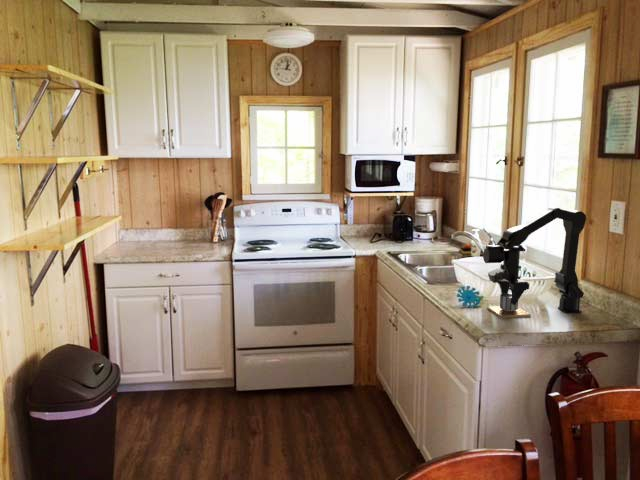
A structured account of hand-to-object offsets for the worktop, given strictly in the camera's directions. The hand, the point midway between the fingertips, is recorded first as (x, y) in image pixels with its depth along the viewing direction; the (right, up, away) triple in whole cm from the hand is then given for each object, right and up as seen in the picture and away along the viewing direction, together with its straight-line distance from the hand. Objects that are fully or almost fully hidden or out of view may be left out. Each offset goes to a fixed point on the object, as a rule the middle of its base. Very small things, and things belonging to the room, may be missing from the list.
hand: (509, 301), depth 214 cm
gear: (-12, -3, +11) cm, 17 cm away
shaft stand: (0, -4, +1) cm, 4 cm away
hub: (0, -2, 0) cm, 2 cm away
